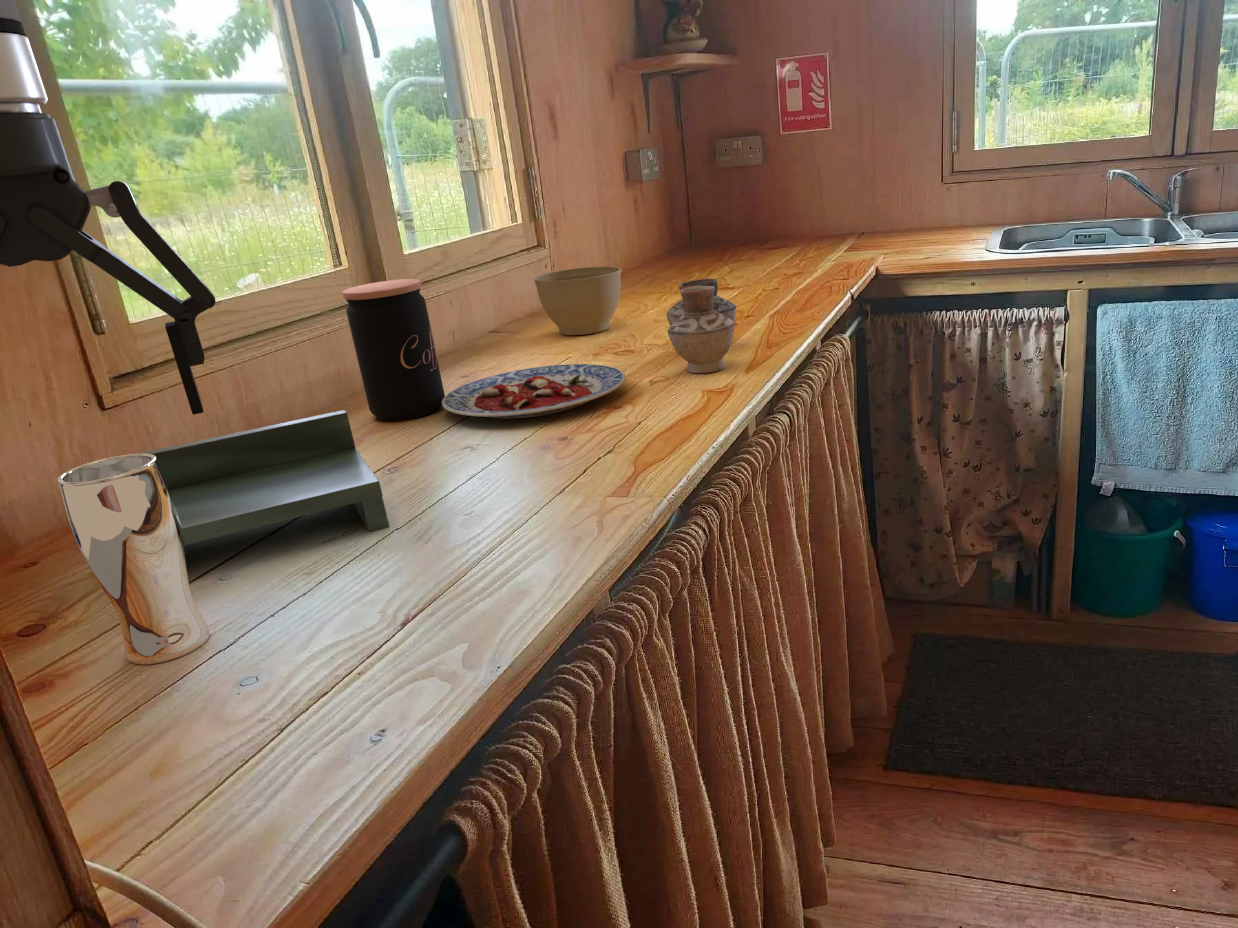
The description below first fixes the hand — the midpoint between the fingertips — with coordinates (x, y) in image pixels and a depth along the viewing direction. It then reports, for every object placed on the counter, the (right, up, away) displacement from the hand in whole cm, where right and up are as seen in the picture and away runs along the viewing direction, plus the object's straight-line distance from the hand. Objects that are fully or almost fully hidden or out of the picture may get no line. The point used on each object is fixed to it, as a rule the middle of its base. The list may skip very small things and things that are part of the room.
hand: (96, 431), depth 70 cm
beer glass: (+2, -17, +7) cm, 18 cm away
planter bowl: (+23, +29, +114) cm, 120 cm away
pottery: (+46, +18, +81) cm, 95 cm away
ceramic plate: (+21, +10, +67) cm, 71 cm away
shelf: (0, -8, +29) cm, 30 cm away
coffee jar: (+3, +9, +70) cm, 70 cm away
